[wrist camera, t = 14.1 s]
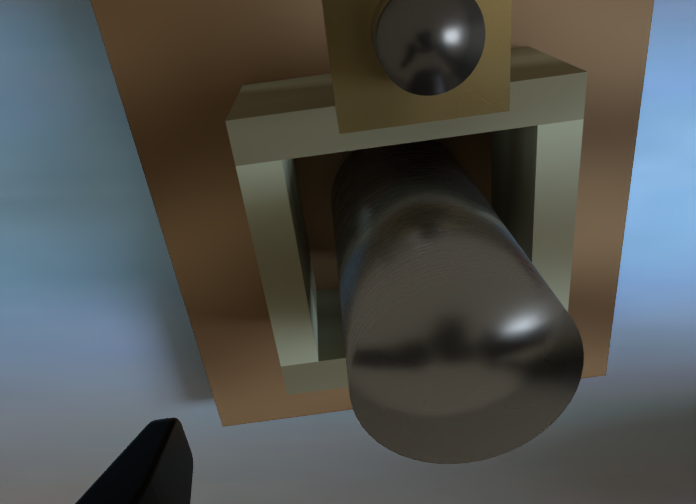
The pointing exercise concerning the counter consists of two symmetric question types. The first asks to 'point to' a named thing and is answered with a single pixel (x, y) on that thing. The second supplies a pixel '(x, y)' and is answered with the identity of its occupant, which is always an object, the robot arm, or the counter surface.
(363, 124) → the lock bolt
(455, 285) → the cylinder
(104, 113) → the counter surface
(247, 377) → the dock
